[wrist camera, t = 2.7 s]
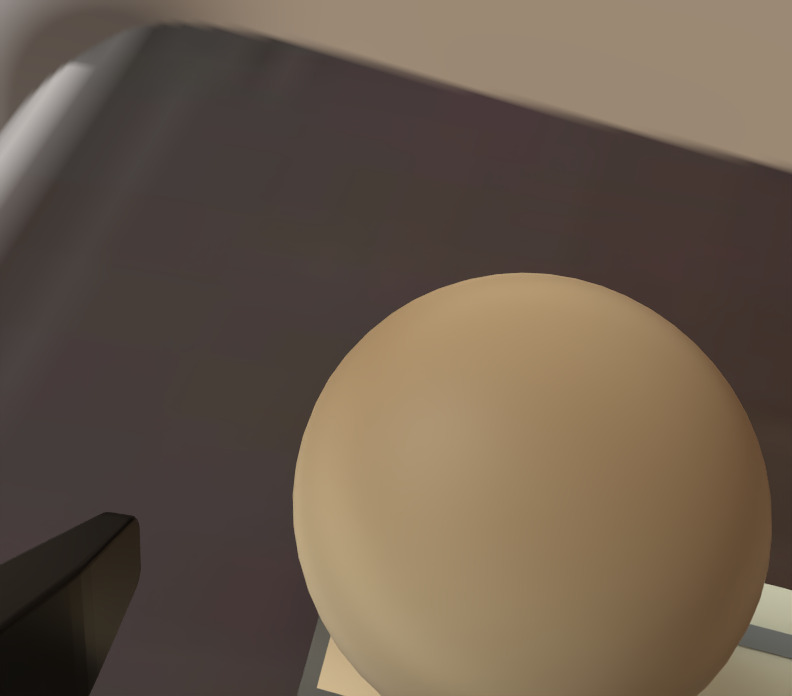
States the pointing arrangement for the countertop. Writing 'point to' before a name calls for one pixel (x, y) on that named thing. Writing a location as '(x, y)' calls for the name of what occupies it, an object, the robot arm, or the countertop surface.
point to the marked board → (761, 652)
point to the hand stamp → (528, 501)
